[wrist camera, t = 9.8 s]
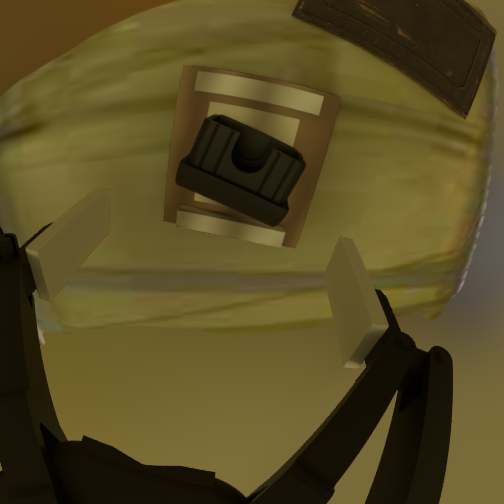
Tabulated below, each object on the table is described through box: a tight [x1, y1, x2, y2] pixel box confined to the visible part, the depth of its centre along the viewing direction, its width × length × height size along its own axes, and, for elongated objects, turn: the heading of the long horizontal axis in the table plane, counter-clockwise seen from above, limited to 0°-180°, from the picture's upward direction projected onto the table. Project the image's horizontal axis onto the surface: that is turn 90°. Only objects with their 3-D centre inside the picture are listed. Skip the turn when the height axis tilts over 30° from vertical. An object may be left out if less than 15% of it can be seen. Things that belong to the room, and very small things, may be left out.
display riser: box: [163, 65, 341, 248], centre depth 29 cm, size 16×18×4 cm
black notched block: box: [175, 114, 306, 227], centre depth 26 cm, size 10×7×7 cm
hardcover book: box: [292, 0, 496, 119], centre depth 19 cm, size 16×23×2 cm
